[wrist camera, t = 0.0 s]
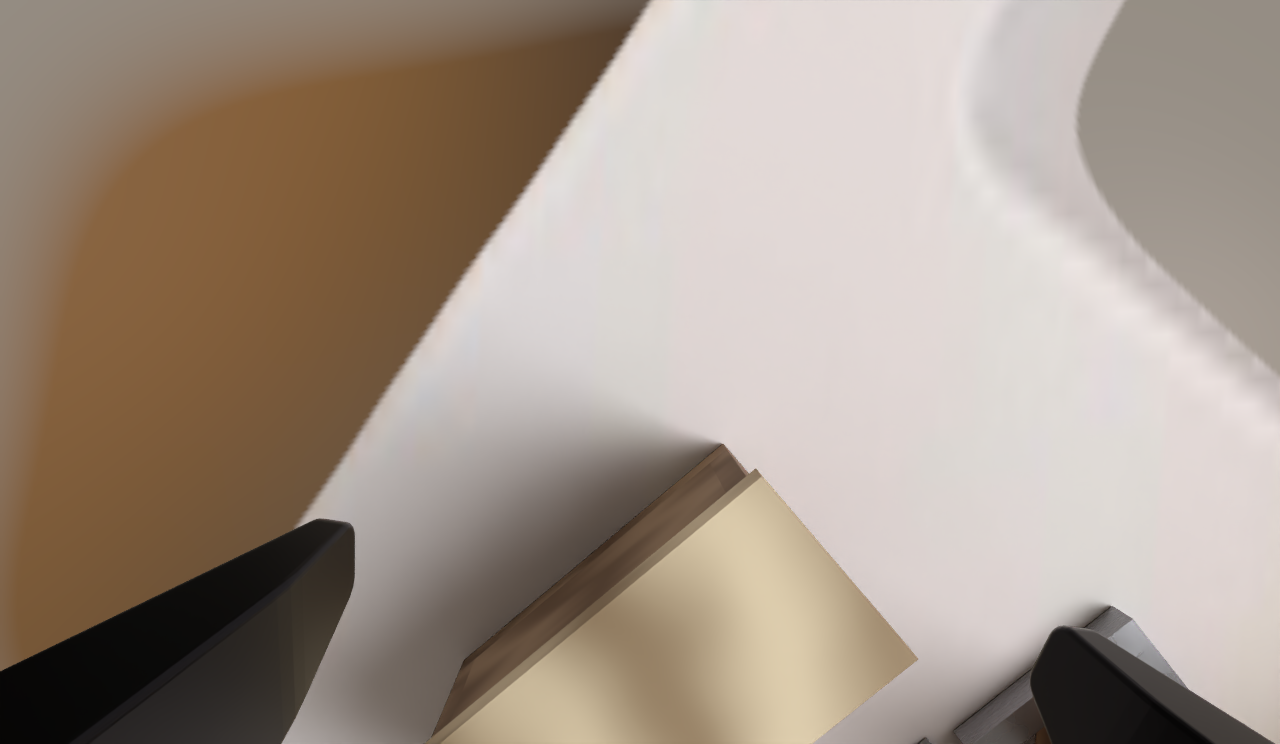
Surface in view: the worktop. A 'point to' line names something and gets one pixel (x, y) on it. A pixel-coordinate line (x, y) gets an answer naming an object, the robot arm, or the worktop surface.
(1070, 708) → the robot arm
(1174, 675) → the keeper
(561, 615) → the toolbox
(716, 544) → the lid
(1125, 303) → the worktop surface
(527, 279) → the worktop surface
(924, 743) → the felt pad
